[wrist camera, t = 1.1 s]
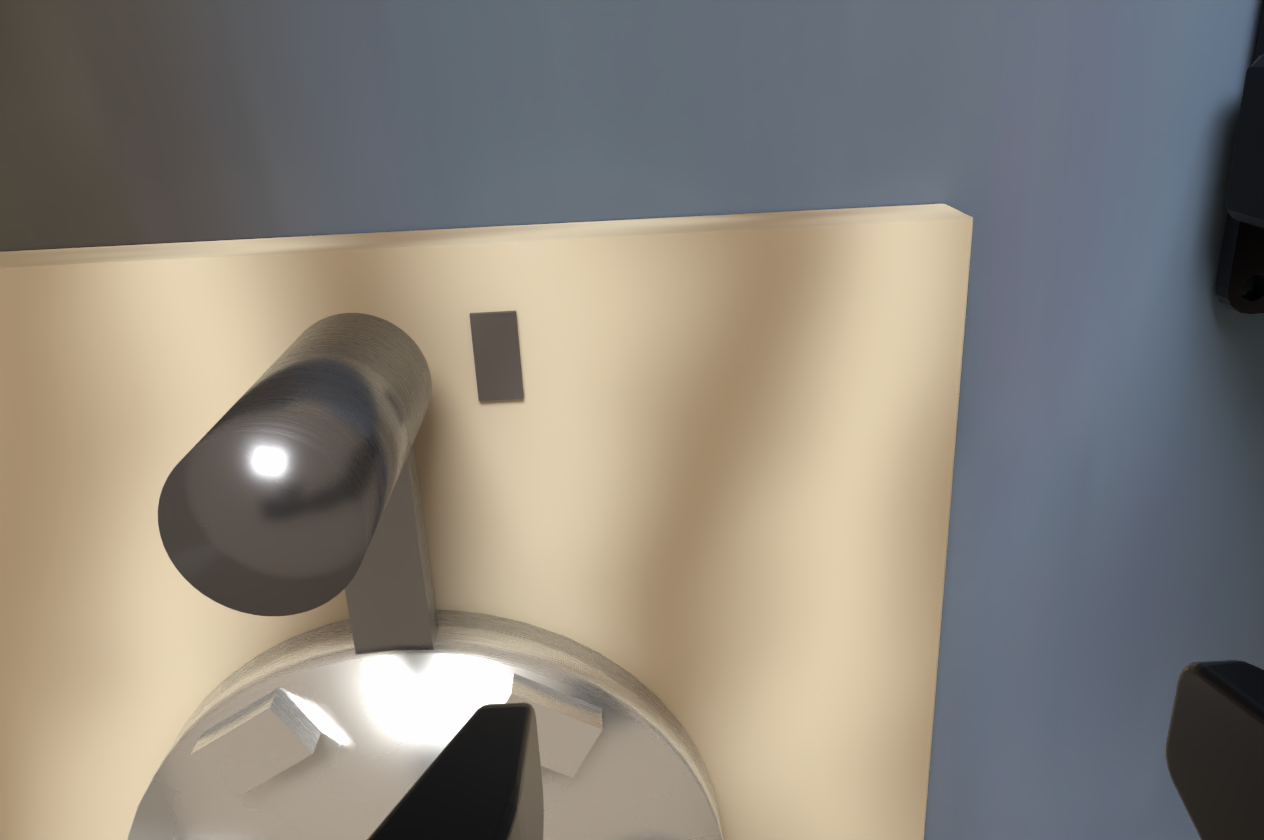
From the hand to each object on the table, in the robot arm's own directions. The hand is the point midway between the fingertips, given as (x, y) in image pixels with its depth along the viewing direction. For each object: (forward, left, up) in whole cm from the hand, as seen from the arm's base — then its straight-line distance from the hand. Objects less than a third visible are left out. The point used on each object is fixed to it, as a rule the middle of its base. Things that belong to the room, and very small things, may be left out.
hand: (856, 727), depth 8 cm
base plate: (+7, +8, -12) cm, 16 cm away
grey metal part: (+6, +8, -10) cm, 14 cm away
